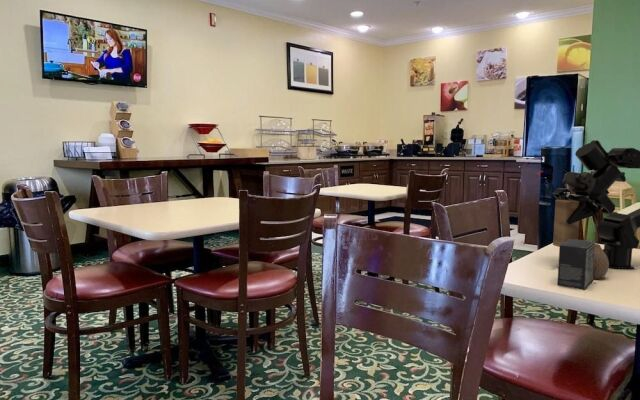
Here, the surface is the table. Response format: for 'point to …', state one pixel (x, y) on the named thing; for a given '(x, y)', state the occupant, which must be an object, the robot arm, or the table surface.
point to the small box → (576, 263)
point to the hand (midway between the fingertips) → (562, 221)
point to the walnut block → (564, 222)
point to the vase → (600, 263)
